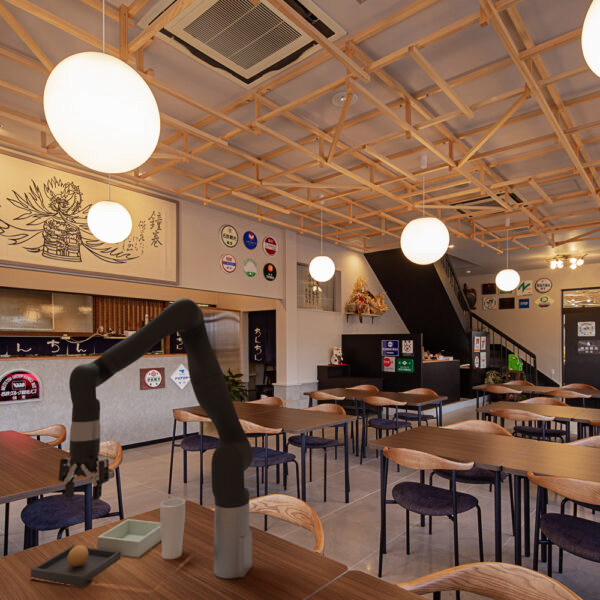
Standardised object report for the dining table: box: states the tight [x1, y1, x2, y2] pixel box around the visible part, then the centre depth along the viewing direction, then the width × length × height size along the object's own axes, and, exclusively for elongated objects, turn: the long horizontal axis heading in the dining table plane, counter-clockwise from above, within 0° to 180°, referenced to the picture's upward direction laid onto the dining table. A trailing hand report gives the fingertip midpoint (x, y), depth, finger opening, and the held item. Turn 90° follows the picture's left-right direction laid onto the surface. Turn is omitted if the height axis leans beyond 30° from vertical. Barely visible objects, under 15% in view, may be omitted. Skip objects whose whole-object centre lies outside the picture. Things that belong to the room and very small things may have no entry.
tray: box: [30, 545, 122, 589], centre depth 116 cm, size 16×14×2 cm
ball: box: [68, 544, 88, 567], centre depth 116 cm, size 5×5×5 cm
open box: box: [96, 518, 162, 558], centre depth 129 cm, size 14×14×5 cm
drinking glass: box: [159, 498, 186, 560], centre depth 123 cm, size 7×7×15 cm
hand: (82, 498), depth 118 cm, fingers open, 8 cm apart
